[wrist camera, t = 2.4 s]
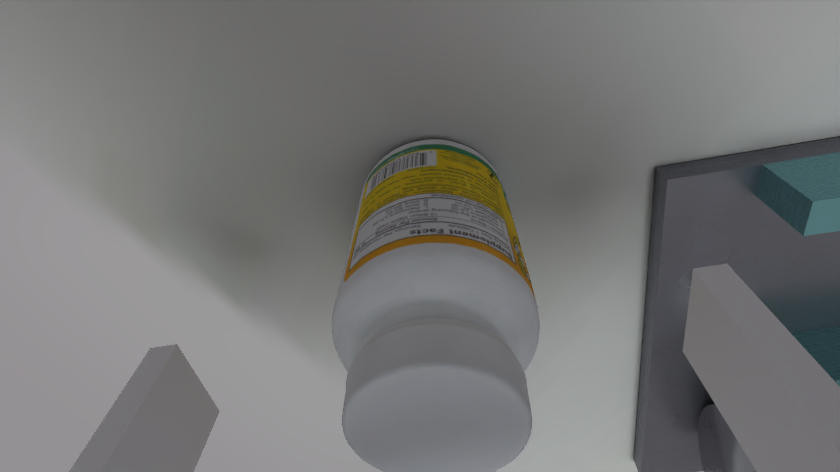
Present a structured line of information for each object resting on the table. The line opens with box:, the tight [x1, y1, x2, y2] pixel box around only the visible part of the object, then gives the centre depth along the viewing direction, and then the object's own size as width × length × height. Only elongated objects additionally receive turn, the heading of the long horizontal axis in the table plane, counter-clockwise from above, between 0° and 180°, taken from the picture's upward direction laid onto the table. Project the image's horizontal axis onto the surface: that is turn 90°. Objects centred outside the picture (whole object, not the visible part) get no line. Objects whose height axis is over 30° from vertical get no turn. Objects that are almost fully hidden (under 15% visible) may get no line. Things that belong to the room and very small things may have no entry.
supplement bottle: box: [332, 139, 540, 472], centre depth 14 cm, size 5×5×10 cm
